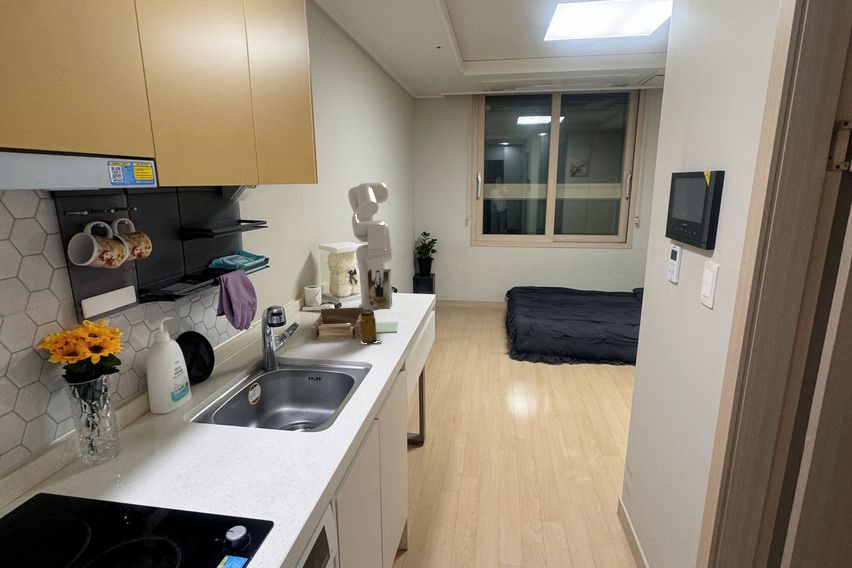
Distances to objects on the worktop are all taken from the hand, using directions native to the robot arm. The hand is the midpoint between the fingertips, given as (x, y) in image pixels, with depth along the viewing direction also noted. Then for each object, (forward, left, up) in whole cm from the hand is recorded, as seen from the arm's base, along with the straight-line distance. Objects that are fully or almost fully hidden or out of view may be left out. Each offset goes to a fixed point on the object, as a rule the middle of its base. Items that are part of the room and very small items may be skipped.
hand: (380, 294), depth 185 cm
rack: (+1, -18, -15) cm, 23 cm away
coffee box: (0, 0, -6) cm, 6 cm away
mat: (0, 0, -15) cm, 15 cm away
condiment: (+16, -3, -15) cm, 22 cm away
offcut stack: (+9, -18, -15) cm, 25 cm away
